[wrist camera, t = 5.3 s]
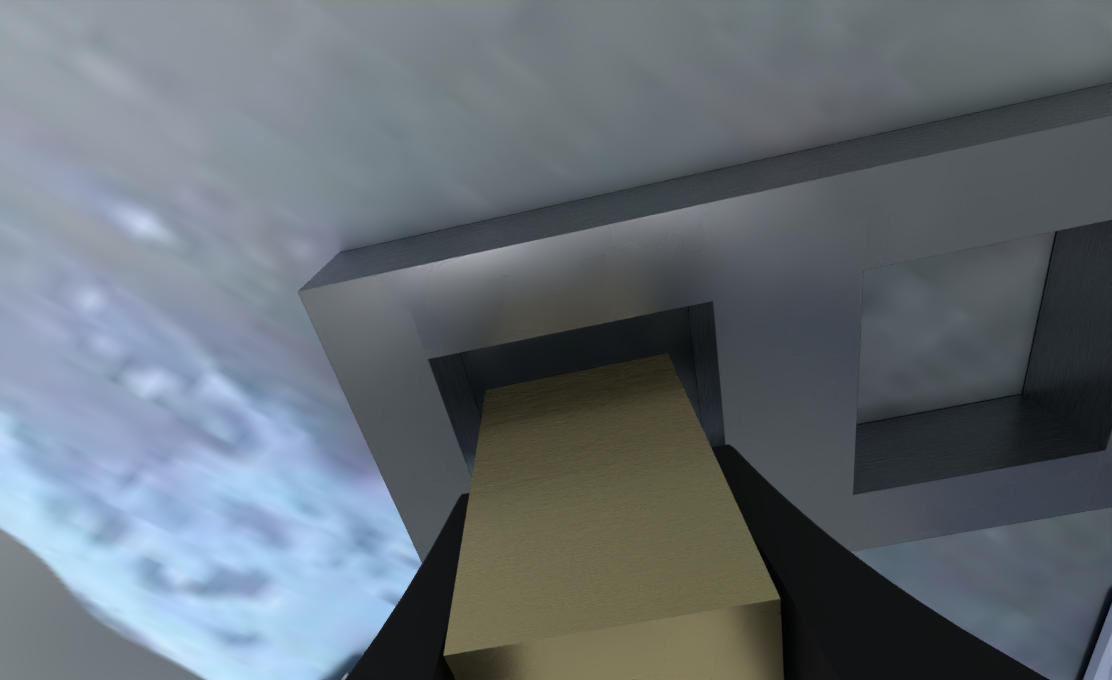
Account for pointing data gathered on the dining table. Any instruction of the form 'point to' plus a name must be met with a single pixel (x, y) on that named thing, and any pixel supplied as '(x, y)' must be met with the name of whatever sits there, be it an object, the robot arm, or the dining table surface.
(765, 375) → the grey peg hole base
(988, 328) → the dining table surface
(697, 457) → the tan rectangular block
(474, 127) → the dining table surface
